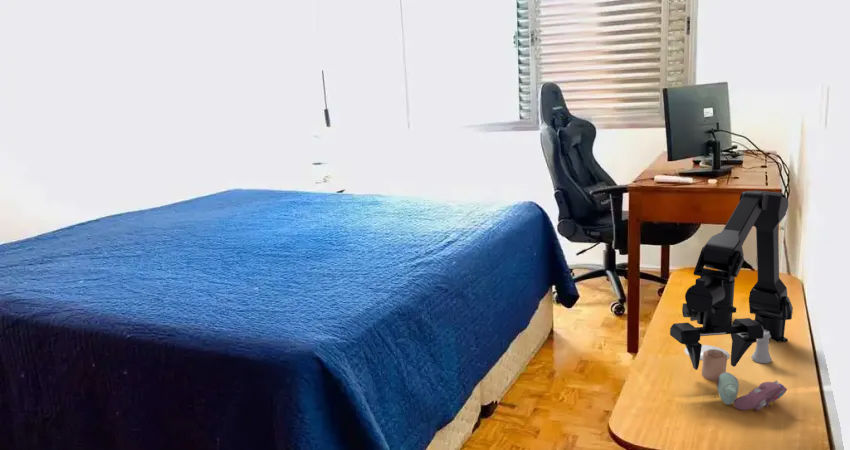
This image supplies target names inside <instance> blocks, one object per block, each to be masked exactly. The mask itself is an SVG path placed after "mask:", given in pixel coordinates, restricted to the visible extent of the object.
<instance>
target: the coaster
mask: <svg viewBox="0 0 850 450" xmlns="http://www.w3.org/2000/svg"><path fill="white" fill-rule="evenodd" d="M710 349H716V350H720V351H722V352H723V353H725V354H726V355H727V360H728V359H730V358H731V354H730V353H729V352H728V351H727V350H725V349H724V348H722V347H719V346H718V347H717V346H714V345H709V344H702V348H701V355H700V361H702V362H703V353H704V352H705V351H708V350H710ZM684 354H685V355H687V356H688V357H690V356H689V352H688V350H687V348H686V347H685V348H684Z"/></svg>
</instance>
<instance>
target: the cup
mask: <svg viewBox="0 0 850 450" xmlns="http://www.w3.org/2000/svg"><path fill="white" fill-rule="evenodd" d="M727 360H728V359H727V355H726V354H725V353H723V352H722V351H720V350H716V349H710V350H708V351H705V352H704V353H703V361H702V369H701V376H702V377H703V378H705V380H706V379H707V380H709V381H716V382H717V379H718V377H719V376H720V374H722V373H725V372H727V363H728V361H727Z"/></svg>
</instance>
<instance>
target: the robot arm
mask: <svg viewBox="0 0 850 450" xmlns="http://www.w3.org/2000/svg"><path fill="white" fill-rule="evenodd" d="M788 209H789V199H788V197H787V195H786V194H784V193H783V192H777V191H776V192H775V191H768V190H764V191H763V190H753V191H752V190H751V191H749V190H746V191H742V192H741V193H740V196H739V202H738V203H737V205H736V207H735V209H734V210H733V212H732V214H731V216H730V217H729V219H728V220H727V222H726V224H725V225H724V228H723V229H722V230H721V231H720V232H719V233H716V234H715V235H714V234H713V235H711V237H710V238H709V239H708V240H707V242H706V243H705V244H704V245H703V247H702V248H701V250H700V253H699V256H698V259H697V263H696V264H695V267H694V271H693V276H697V278H695V284H693V285H691V286H689V287H688V289H687V290H686V292H685V293H684V297H685V298H684V299H685V302H684V303H682V308H681V309H682V310H681V311H682V317H683V318H689V319H690V320H689V321H691V322H693V321H696V323H697V324H698V325H702V326H701V327H700V326H697V327H695V326H694V325H693V324H691V323H690V322H679V323H673V324H672V325H671V326H670V328H669V335H670V336H671V337H672V338H673V339H675V340H676V341H677V342H678V343H679V344H680V345H684V346H685V348H687V350H688V352H689V356H688V357H689V359H690V361H691V364H692V367H693V369H694V370H695V371H697V370H698V369H699V367H700V361H701V360H700V355H701V348H702V345H703V344H701V342H700V341H701V337H706V336H708V337H709V336H718V335H719V336H721V335H722V336H723V335H730V337H731V351H730V365H731V366H732V368H734V367H736V366H737V365H738V363H739V362H740V360H741V359H742V357H743V355H745V353H746V352H747V350H749V348H750V347H751V346H752V345H753V344H754V343H757V339H762V338H763V337H764V330H767V331H769V333H770V335H771V338H770V339H771V340H772V341H775V342H776V343H783V342H789V339H788V338H786V337H785V331H786V329H785V328H786V321H787V320H792V319H793V318H792V317H793V313H794V312H793V309H794V308H793V305H792V302H791V299H790V298H789V296H788V288H787V286H786V284H785V283H784V282H783V281H782V279H780V256H779V255H780V252H779V251H780V249H779V248H780V247H779V244H780V243H779V237H780V236H779V225H780V223H781V222H782V221H783V219H784V218H785V217H786V215H787V212H788ZM753 226H754V228H755V232H756V233H755V234H756V267H757V269H756V270H757V271H756V272H757V281H756V283H755V284H754V285H753V287H752V288H751V290H749V296H748V306H749V313H750V314H751V315H753V314H754V319H752V318H750V317H746V318H745V317H743V318H742V317H741V318H734V320H733V314H735V313H737V307H735V306H734V296H735V294H734V293H735V282H736V281H735V280H736V278H737V277H738V275H739V273H740V271H741V268H742V266H743V263H744V261H745V257H744V256H745V255H744V250H743V245H744V243H745V241H746V239H747V237H748V235H749V233H750V232H751V230H752V228H753ZM770 339H769V340H770Z"/></svg>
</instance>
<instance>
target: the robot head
mask: <svg viewBox="0 0 850 450" xmlns="http://www.w3.org/2000/svg"><path fill="white" fill-rule="evenodd" d="M716 387H717V392H718V397H719V398H720V399H721V401H722V403H724V404H725V405H732V404H734V401H735V400H736V399H737V398H738V392H739V387H740V385H739V380H738V378H737V377H736V376H735V374H734V375H733V374H732V373H730V372H727V371H726V372H725V373H722V374H720V376H719V377H718V379H717V381H716Z"/></svg>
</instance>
